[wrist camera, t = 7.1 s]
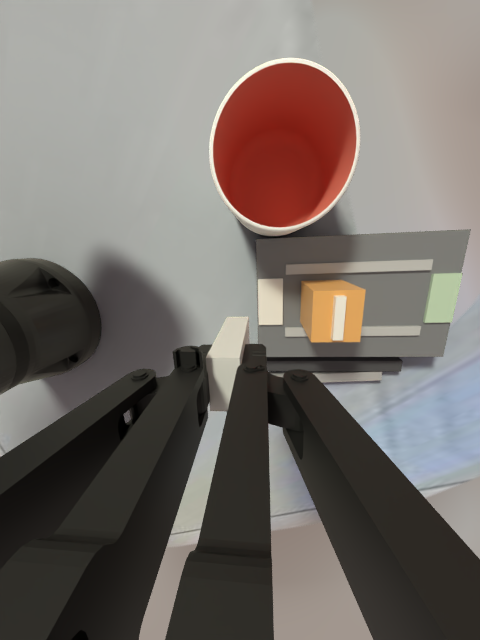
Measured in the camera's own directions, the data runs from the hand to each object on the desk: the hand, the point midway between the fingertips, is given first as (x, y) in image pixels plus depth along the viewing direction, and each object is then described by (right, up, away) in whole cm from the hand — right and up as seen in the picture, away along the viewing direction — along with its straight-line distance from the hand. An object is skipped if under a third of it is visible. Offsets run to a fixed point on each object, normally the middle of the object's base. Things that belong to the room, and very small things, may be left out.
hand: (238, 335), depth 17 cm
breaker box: (+12, +4, +11) cm, 17 cm away
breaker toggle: (+9, +3, +8) cm, 12 cm away
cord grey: (+11, -6, +14) cm, 19 cm away
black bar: (+12, -4, +14) cm, 18 cm away
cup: (+4, +15, +9) cm, 18 cm away
